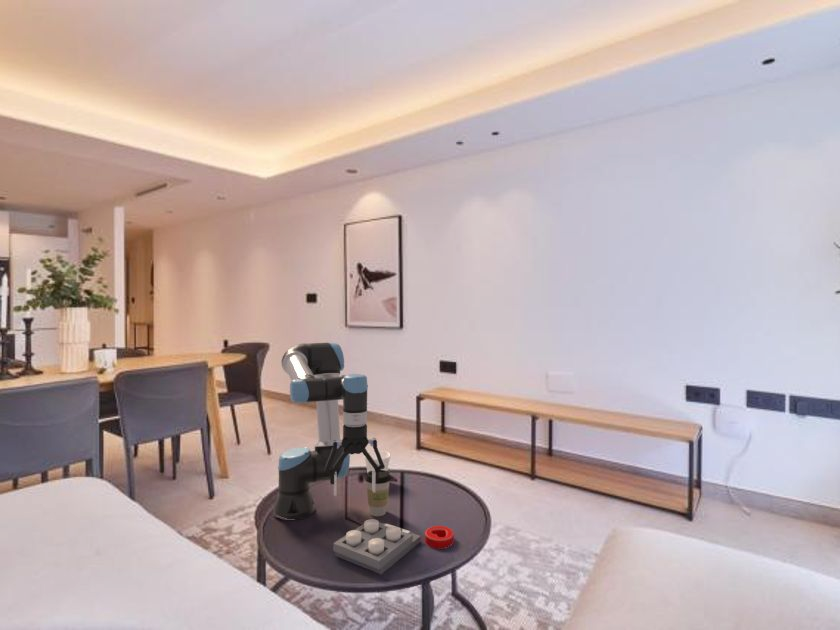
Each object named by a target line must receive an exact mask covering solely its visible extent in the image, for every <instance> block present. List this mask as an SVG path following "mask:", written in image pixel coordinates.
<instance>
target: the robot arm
mask: <svg viewBox="0 0 840 630" xmlns="http://www.w3.org/2000/svg"><path fill="white" fill-rule="evenodd" d="M281 367H282V369H283V371H284V372H285V374H287V375H288V376H289V378H290V383H289V397H290V401H291V402H292V403H293V404H296V403H297V404H298V403H299V404H305V403H315V402H316V420H317V421H316V422H317V442H316V444H315V445H314V450H313V451H311V450H310V448H309V447H304V446H303V447H300V446H298V447H294V448H293V447H292V448H290V449H287V450H285V451H284V452H282V453H281V454H280V455H279V457H278V465H277V469H278V491H277V496H276V501H275V504H274V505H273V512H274V511H275V513H276V514H277V515H279V516H281V517H284V518H287V519H299V520H302V519H301V518H303V519H306V518H308V517H310V516H311V515H312V514H314V512H315V507H316V505H315V501H314V498H313V495H312V492H311V484H313V483H319V482H326V481H330V485H333V496H334V497H336V496H338V495H337V492H338V479H343V478H345V477H346V476H347V475H348V473H349V469H350V464H351V463H350V462H351V461H350V460H351V459H350V458H351V455H361V453H362V454H363V457H364V456H365V457H366V458H367V460H368V461H369V462H370V464H371V465H372V466H373V468H374V469H372V491H373V492H375V481H378V480H379V470H381V469H384V468H385V466H384V463H383V461H382V458H381V456H380V453H379V451H380V450H379V448H378V441H377V439H376V437H372V438H371V439H370V438H369V439H368V425H367V423H368V387H369V385H368V378H367V376H366V375H365V374H360V373H352V374H351V373H350V374H341V371H343V370H344V368H345V357H344V353H343V350H342V347H341V346H340V344H339V343H337V342H314V343H306V342H305V343H304V342H303V343H299V344H295V345H293V346H292V347H290V348H288V349H287V350H286V351H285V352H284V354H283V355H282V357H281ZM340 400H342V402H343V403H342V406H343V407H342V409H343V410H342V422H343V423H342V424H343V425H342V439H341V431H340V429H341V428H340V415H339V413H340V412H339V411H340V410H339V401H340ZM369 444H370V447H372V448H373V451H375V454H376V456H377V459H378V461H379V465H377V464H376V463H375V461H374V460H373V459H372V457H371V456H370V454H369V453H368V452H369V451H368V450H367V449H366V448H367V446H368V445H369ZM365 457H364V458H365Z"/></svg>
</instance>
